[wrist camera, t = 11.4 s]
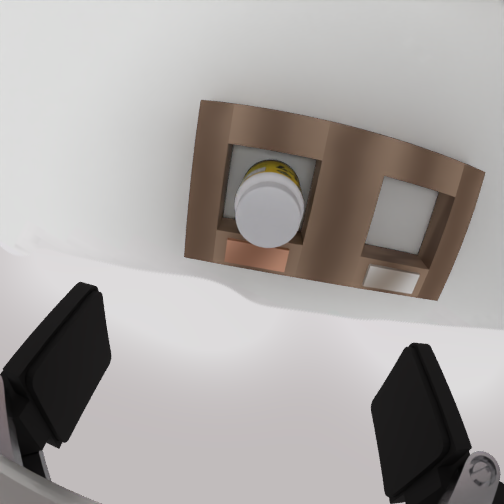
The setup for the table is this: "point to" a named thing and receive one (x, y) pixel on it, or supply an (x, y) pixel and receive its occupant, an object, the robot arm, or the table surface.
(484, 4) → the table surface
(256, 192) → the supplement bottle
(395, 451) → the robot arm
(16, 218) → the table surface
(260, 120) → the socket block
